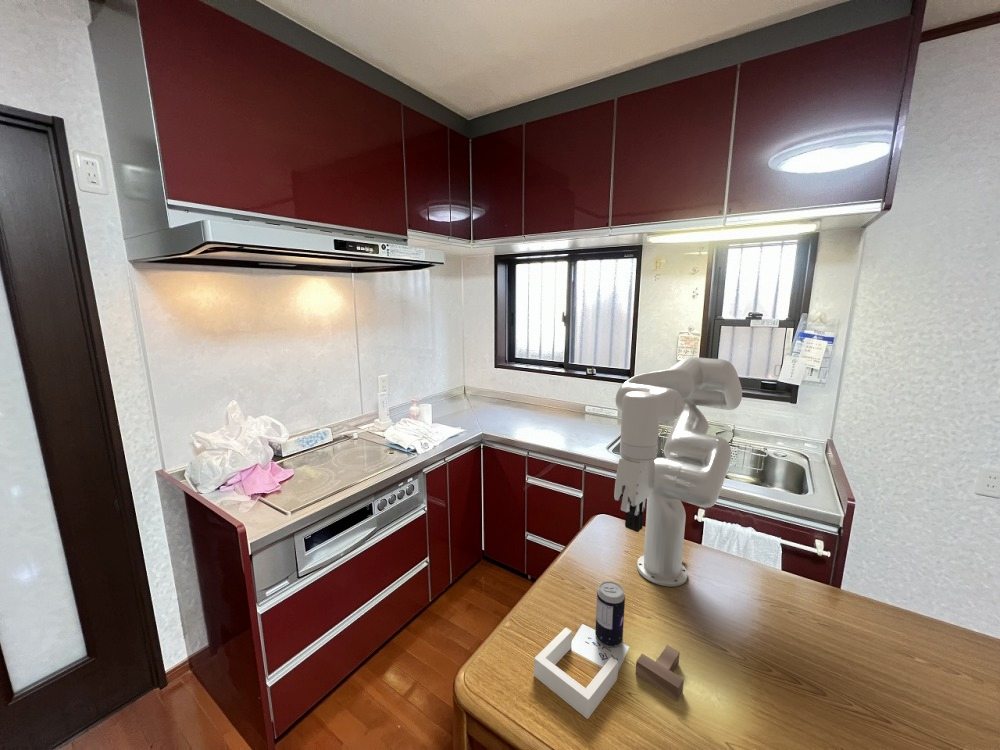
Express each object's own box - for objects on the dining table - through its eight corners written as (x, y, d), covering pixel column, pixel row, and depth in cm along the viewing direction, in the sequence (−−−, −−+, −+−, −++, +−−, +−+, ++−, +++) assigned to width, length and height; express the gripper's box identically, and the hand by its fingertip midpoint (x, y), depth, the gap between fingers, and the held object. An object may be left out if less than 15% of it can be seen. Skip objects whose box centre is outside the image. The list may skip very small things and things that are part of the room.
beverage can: (623, 652, 84) (626, 600, 82) (595, 647, 85) (597, 596, 83) (621, 630, 89) (623, 582, 87) (594, 626, 90) (596, 578, 88)
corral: (565, 643, 86) (565, 627, 85) (617, 679, 78) (618, 661, 77) (534, 675, 78) (534, 658, 78) (587, 719, 70) (588, 699, 69)
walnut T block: (652, 649, 84) (653, 637, 84) (693, 673, 79) (694, 660, 78) (635, 674, 79) (636, 661, 78) (677, 702, 73) (678, 687, 73)
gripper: (637, 437, 94) (633, 510, 97) (604, 454, 84) (600, 535, 87) (669, 444, 89) (664, 521, 92) (639, 464, 78) (633, 550, 82)
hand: (633, 528), depth 90 cm, fingers closed
